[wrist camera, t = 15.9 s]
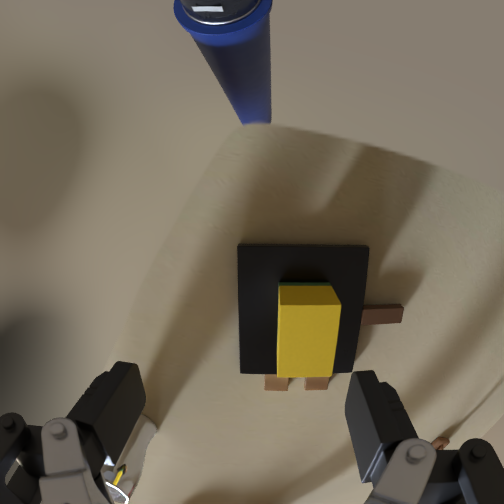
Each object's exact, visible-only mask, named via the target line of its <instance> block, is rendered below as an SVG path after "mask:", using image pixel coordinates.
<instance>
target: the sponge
mask: <svg viewBox="0 0 504 504" xmlns="http://www.w3.org/2000/svg"><path fill="white" fill-rule="evenodd" d="M340 314H341V303H340V301H339V299H338V297H337V295H336V293H335V292H334V290H333V288H332V286H331V284H330V283H299V282H279V294H278V328H277V377H326V376H332V372H333V365H334V359H335V352H336V345H337V338H338V330H339V322H340Z"/></svg>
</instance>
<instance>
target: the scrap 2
mask: <svg viewBox="0 0 504 504" xmlns="http://www.w3.org/2000/svg"><path fill="white" fill-rule="evenodd" d="M328 382H329V376H326V377H305V384H304V389H305V390H327V388H328Z"/></svg>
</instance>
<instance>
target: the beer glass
mask: <svg viewBox="0 0 504 504" xmlns="http://www.w3.org/2000/svg"><path fill="white" fill-rule="evenodd" d="M156 433H157V427H156V425H155V424H154V422H153V421H152V420H151V419H149V418H148V417H147V416H145V415H143V414H141V415H140V417H139V419H138V421H137V423H136V425H135V427H134V429H133V431H132V433H131V435H130V437H129V439H128V441H127V443H126V445H125V447H124V449H123V451H122V453H121V455H120V457H119V459H118V461H117V463H116V466H115V467H114V466H111V465H108V464H104V465H103V467H102V469H101V470H102V471H103V474H104V477H105V480H106V482H107V485H108V488H109V491H110V493H111V496H112V499H113V501H115V502H118V503H128V502H129V500H130V498H131V496H132V494H133V492H134V491H135V489H136V487H137V485H138V483H139V480H140V477H141V475H142V471H143V466H144V461H145V455H146V450H147V447H148V445H149V443H150V441H151V440H152V439H153V437H154V436H155V435H156Z"/></svg>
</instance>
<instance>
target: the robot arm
mask: <svg viewBox="0 0 504 504" xmlns="http://www.w3.org/2000/svg"><path fill="white" fill-rule="evenodd" d="M180 2H181V4H182V6H183V9H184V11H185V13H186V14H187V16H188V17H189V18H190V19H192V20H193V21H195V22H197V23H199V24H203V25H207V26H224V25H229V24H233V23H236V22H239V21H241V20H243V19H245V18H247V17H248V16H249V15H251V14H252V13H253V12H254V11H255V10H256V9H257V7H258V6H259V4H260V2H261V0H180ZM145 402H146V395H145V390H144V387H143V383H142V379H141V375H140V371H139V368H138V365H137V364H135V363H128V362H122V361H117V362H116V363H115V364H114V366H113V367H112V368H111V370H110V371H109V372H107V371H105V372H104V373H102V374H101V375H99V376H98V377H96V378H95V379H94V381H93V382H92V383H91V385H90V387H89V388H87V390H86V391H85V393H84V395H82V396H81V398H80V399H79V400H78V402H77V403H76V404H75V406H74V407H73V408H72V410H71V411H70V412H69V414H68V415H67V417H66V418H54V419H52V420H50V421H48V422H47V423H46V424H45V425H44V426H33V425H27V424H26V422H25V421H24V419H23V417H22V416H21V415H19V414H17V413H7V414H4V415H2V416H1V417H0V504H40V503H41V501H42V502H43V504H114V501H113V499H112V496H111V493H110V491H109V488H108V485H107V482H106V480H105V477H104V474H103V471H102V470H101V469H102V467H103V465H104V464H108V465H111V466H114V467H115V466H116V463H117V461H118V459H119V457H120V455H121V453H122V451H123V449H124V447H125V445H126V443H127V441H128V439H129V437H130V435H131V433H132V431H133V429H134V427H135V425H136V423H137V421H138V419H139V417H140V415H141V413H142V411H143V409H144V406H145ZM345 416H346V420H347V424H348V428H349V432H350V436H351V440H352V444H353V448H354V452H355V456H356V460H357V465H358V469H359V473H360V477H361V482H362V483H367V482H372V484H373V488H374V489H373V490H372V492H371V494H370V495H369V497H368V498H367V500H366V501H365V503H364V504H504V468H503V466H502V464H501V462H500V460H499V458H498V456H497V454H496V453H495V451H494V449H493V447H492V446H491V444H490V443H488V442H487V441H485V440H482V439H478V438H474V439H470V440H467V441H466V442H464V443H463V445H462V446H461V447H460V449H459V450H436V449H435V448H434V447H433V445H432V444H431V443H429V442H428V441H426V440H423V439H419V438H418V436H417V433H416V431H415V429H414V427H413V425H412V423H411V421H410V419H409V416H408V414H407V412H406V410H405V409H404V406H403V404H402V402H401V401H400V398H399V396H398V394H397V392H396V390H395V389H394V388H393V387H392V386H390V385H389V384H388V383H387V382H380V383H379V381H378V379H377V376H376V374H375V372H374V371H373V370H368V371H356V372H353V373H352V375H351V379H350V384H349V389H348V393H347V397H346V402H345ZM15 460H17V461H18V463H19V464H20V465H19V466H18V468H17V470H16V471H15V473H14V474H13V476H12V478H11V480H10V481H9V483H8V485H7V486H6V484H5V476H6V474H7V472H8V471H9V469H10V467H11V466H12V464H13V463H14V461H15Z"/></svg>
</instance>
